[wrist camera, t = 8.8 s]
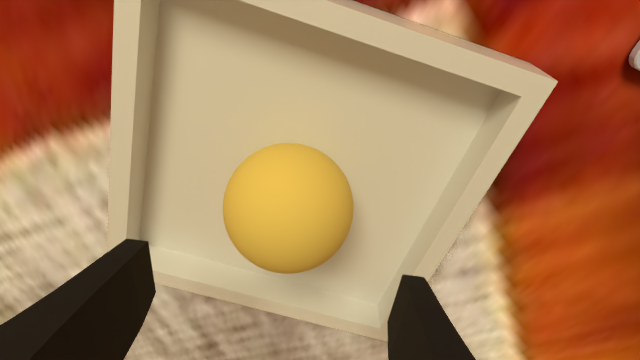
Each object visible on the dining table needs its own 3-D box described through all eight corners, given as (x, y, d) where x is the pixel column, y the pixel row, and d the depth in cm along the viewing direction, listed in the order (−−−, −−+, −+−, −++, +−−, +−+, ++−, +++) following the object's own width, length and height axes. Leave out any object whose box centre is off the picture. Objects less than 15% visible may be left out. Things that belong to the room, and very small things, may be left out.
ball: (360, 129, 15) (368, 197, 11) (343, 225, 18) (344, 309, 14) (238, 115, 15) (201, 178, 11) (238, 213, 18) (208, 295, 14)
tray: (529, 62, 14) (558, 81, 13) (384, 305, 22) (388, 342, 20) (151, -71, 13) (116, -74, 11) (129, 238, 20) (106, 270, 18)
